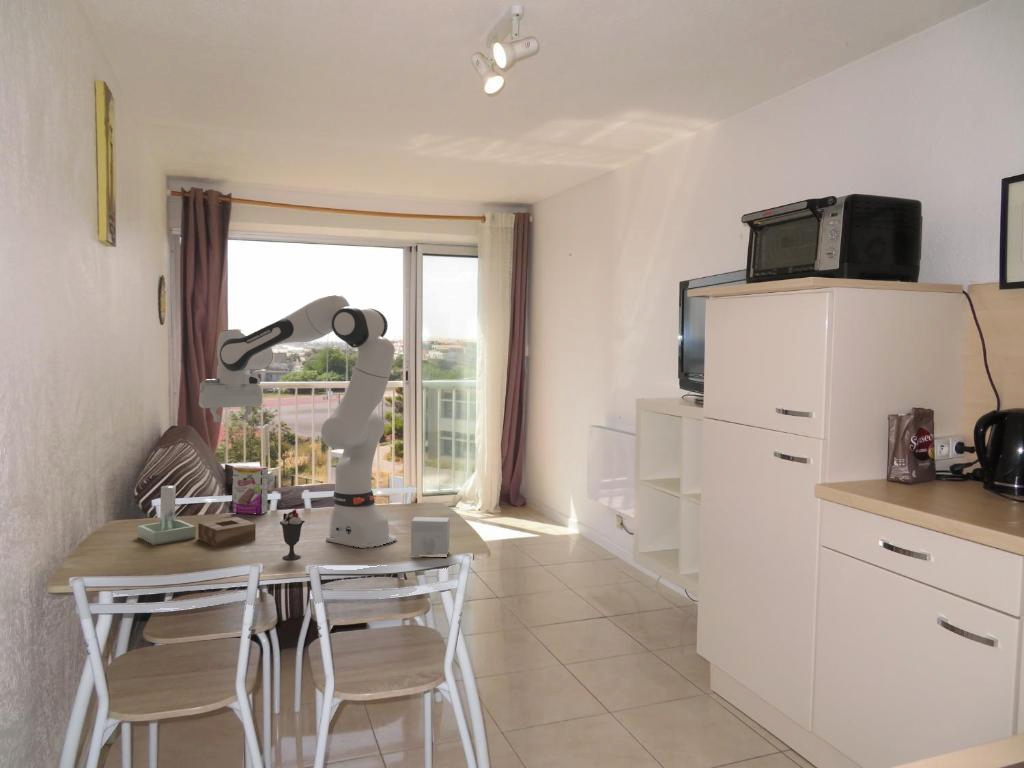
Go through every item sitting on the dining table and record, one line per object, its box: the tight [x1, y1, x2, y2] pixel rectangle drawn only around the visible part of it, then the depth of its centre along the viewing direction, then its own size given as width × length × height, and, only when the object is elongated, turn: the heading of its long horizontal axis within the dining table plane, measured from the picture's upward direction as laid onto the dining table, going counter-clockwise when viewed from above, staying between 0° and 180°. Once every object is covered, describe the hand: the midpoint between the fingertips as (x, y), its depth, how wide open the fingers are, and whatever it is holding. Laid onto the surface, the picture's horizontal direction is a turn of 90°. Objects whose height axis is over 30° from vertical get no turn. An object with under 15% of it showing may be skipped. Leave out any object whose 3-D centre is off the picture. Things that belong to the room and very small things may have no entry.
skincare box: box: [410, 516, 451, 557], centre depth 203 cm, size 10×6×10 cm, turn 89°
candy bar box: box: [231, 465, 269, 515], centre depth 248 cm, size 11×5×16 cm, turn 84°
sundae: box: [279, 504, 305, 561], centre depth 196 cm, size 7×7×15 cm
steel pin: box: [159, 484, 177, 531], centre depth 214 cm, size 4×4×15 cm
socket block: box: [197, 516, 257, 548], centre depth 213 cm, size 12×12×5 cm
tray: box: [137, 519, 197, 546], centre depth 214 cm, size 12×12×4 cm
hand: (231, 420), depth 232 cm, fingers open, 8 cm apart
